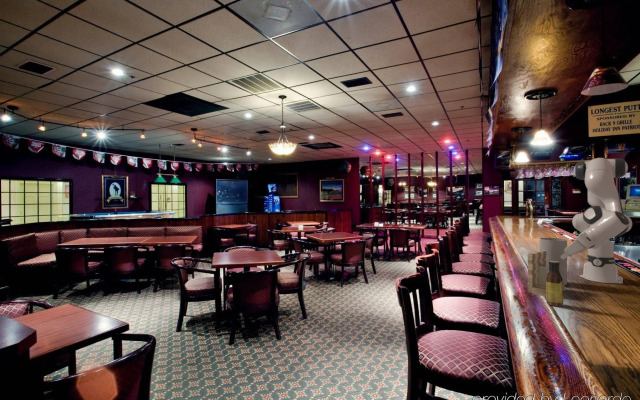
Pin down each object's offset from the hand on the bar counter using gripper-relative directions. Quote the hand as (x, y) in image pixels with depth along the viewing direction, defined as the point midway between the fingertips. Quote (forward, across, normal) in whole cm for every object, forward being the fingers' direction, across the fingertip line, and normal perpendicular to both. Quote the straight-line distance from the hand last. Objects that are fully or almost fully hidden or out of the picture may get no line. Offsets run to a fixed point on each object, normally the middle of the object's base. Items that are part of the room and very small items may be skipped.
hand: (565, 256), depth 156 cm
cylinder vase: (+22, -20, +5) cm, 30 cm away
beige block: (+18, 0, +5) cm, 19 cm away
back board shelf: (+19, +1, +8) cm, 21 cm away
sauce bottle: (+12, +20, +15) cm, 28 cm away
